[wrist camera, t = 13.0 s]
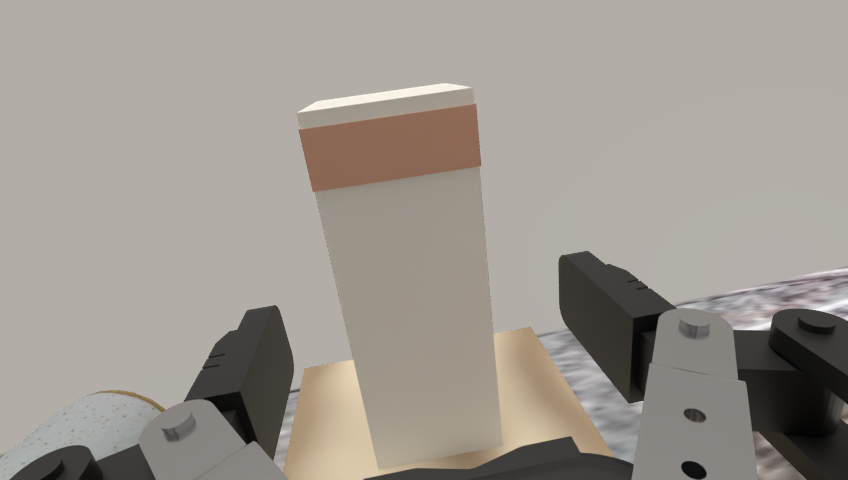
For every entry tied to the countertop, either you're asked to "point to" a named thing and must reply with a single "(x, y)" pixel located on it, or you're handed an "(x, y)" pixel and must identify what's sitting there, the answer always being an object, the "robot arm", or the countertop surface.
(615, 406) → the countertop surface
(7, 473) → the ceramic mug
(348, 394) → the tan wooden block
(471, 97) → the carton
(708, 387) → the robot arm
